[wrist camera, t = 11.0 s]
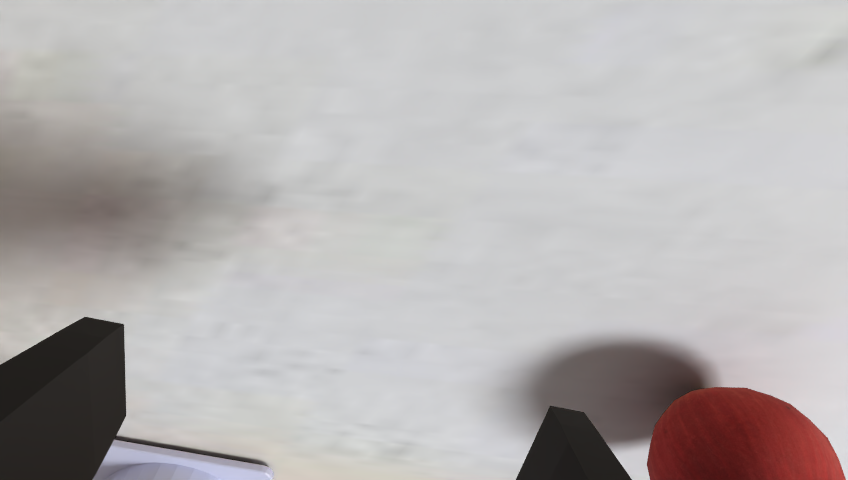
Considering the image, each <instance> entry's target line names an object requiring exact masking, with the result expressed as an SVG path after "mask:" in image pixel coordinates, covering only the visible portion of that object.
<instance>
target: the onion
mask: <svg viewBox="0 0 848 480" xmlns="http://www.w3.org/2000/svg"><path fill="white" fill-rule="evenodd" d="M647 467H648V472H649V476H650V480H846V479H845V476H844V473H843V470H842V467H841V465H840V462H839V459H838V457H837V455H836V453H835V451H834V449H833V447H832V446H831V444H830V442H829V440H828V438H827V437H826V436H825V435H824V434H823V433H822V432H821V431H820V430H819V429H818V428H817V427H816V426H815V425H814V424H813V423H812V422H811V421H810V420H809V419H808V418H807V417H806V416H804V415H803V414H802V413H801V412H799V411H798V410H797V409H796V408H794V407H793V406H792V405H791V404H789V403H787V402H784V401H782V400H780V399H777V398H775V397H773V396H771V395H767V394H764V393H761V392H757V391H754V390H751V389H748V388H728V387H713V388H702V389H698V390H693V391H690V392H689V393H687V394H685V395H683V396H681V397H680V398H678V399H676V400H674V401H673V402H672V404H671V405H670V406H669V407H668V408H667V410H666V411H665V412H664V413H663V414H662V416H661V417H660V419H659V420H658V422H657V423H656V425H655V427H654V431H653V435H652V439H651V443H650V449H649V455H648V461H647Z"/></svg>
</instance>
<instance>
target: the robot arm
mask: <svg viewBox="0 0 848 480" xmlns="http://www.w3.org/2000/svg"><path fill="white" fill-rule="evenodd" d="M125 417H126V391H125V351H124V324H120V323H114V322H109V321H104V320H99V319H93V318H88V317H84V318H82V319H80V320H78V321H77V322H75V323H73V324H71V325H69V326H67V327H66V328H64V329H62V330H60V331H59V332H57V333H55V334H53V335H52V336H50V337H48V338H46V339H45V340H43V341H41V342H39V343H38V344H36V345H34V346H33V347H31V348H29V349H27V350H26V351H24V352H22V353H20V354H19V355H17V356H15V357H13V358H12V359H10V360H8V361H6V362H5V363H3V364H1V365H0V480H273V476H274V474H273V471H272V470H271V469H270V468H269V467H267V466H264V465H259V464H253V463H247V462H241V461H236V460H230V459H224V458H218V457H212V456H206V455H201V454H195V453H189V452H183V451H177V450H172V449H166V448H160V447H154V446H148V445H143V444H137V443H131V442H125V441H119V440H114V439H115V437H116V435H117V433H118V431H119V429H120V427H121V425H122V423H123V421H124V419H125ZM516 480H632V479H631V478H630V476H629V475H628V474H627V472H626V471H625V469H624V468H623V467H622V465H621V464H620V462H619V461H618V459H617V458H616V457H615V455H614V454H613V452H612V451H611V450H610V448H609V447H608V445H607V444H606V442H605V441H604V440H603V438H602V437H601V435H600V434H599V432H598V431H597V430H596V428H595V427H594V426H593V424H592V423H591V421H590V420H589V419H588V417H587V416H586V415H585V413H584V412H580V411H574V410H569V409H564V408H559V407H554V406H550V407H549V410H548V412H547V414H546V416H545V418H544V420H543V423H542V425H541V427H540V429H539V431H538V433H537V435H536V438H535V440H534V442H533V444H532V446H531V448H530V450H529V453H528V455H527V457H526V459H525V461H524V463H523V466H522V468H521V470H520V472H519V474H518V476H517V478H516Z"/></svg>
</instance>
